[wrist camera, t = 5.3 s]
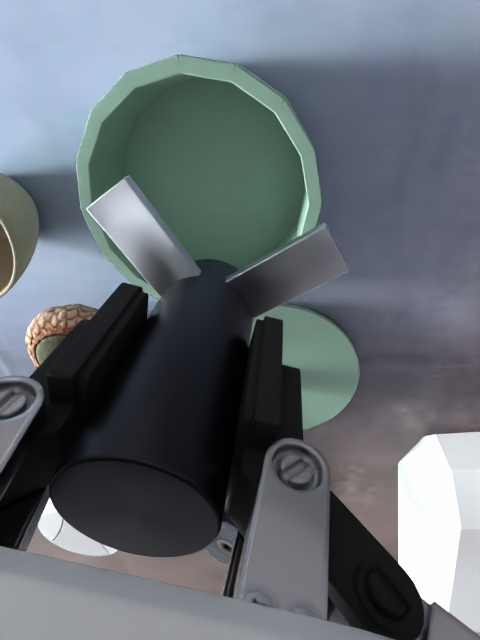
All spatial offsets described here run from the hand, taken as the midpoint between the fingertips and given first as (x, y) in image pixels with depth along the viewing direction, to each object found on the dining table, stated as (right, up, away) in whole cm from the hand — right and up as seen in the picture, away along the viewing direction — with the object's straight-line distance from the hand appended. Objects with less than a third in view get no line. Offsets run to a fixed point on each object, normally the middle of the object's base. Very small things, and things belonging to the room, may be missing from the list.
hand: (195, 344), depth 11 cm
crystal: (+27, -19, +32) cm, 46 cm away
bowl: (-1, +11, +16) cm, 19 cm away
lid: (+5, -4, +24) cm, 25 cm away
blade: (0, +2, +2) cm, 3 cm away
